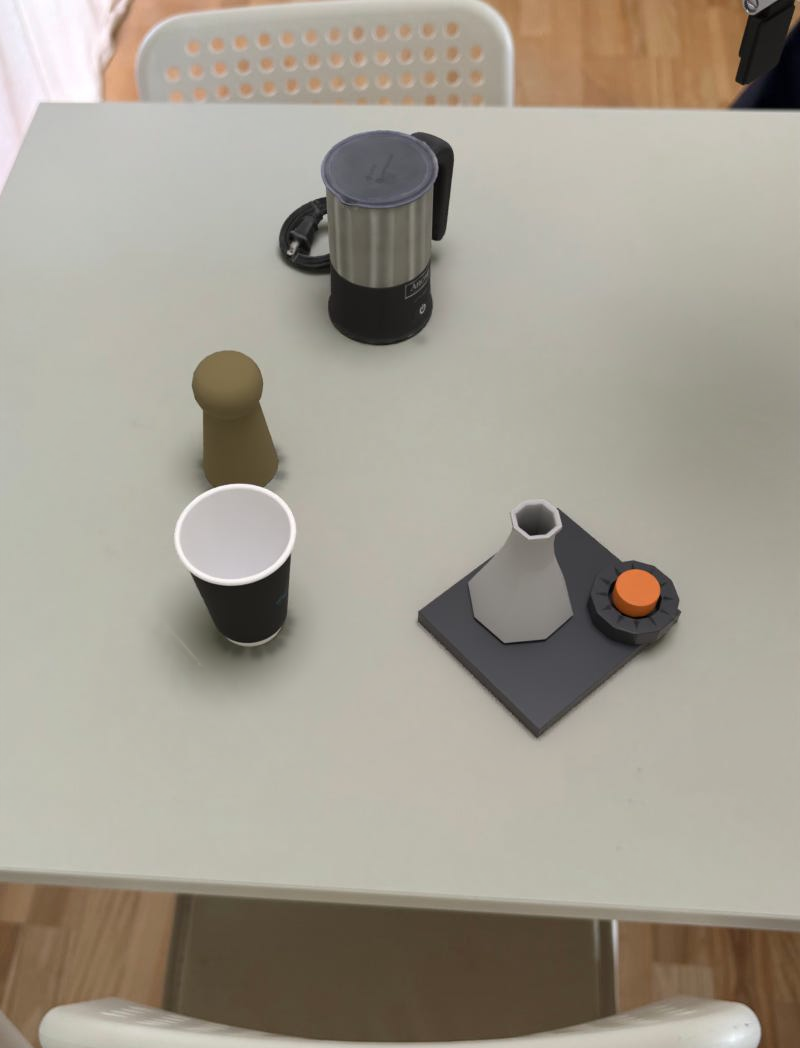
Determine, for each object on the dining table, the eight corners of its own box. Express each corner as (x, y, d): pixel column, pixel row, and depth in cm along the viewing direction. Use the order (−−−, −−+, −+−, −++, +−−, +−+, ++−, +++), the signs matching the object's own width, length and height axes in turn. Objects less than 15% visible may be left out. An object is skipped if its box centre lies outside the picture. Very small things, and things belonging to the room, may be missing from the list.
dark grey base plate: (559, 514, 84) (564, 491, 81) (686, 622, 78) (696, 600, 76) (417, 621, 79) (418, 599, 77) (541, 743, 74) (547, 724, 71)
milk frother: (415, 356, 94) (421, 214, 81) (242, 320, 97) (223, 178, 85) (458, 247, 101) (469, 102, 89) (296, 217, 104) (285, 72, 92)
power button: (632, 573, 78) (636, 561, 76) (665, 601, 76) (670, 589, 75) (602, 597, 77) (606, 585, 75) (635, 625, 75) (639, 613, 74)
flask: (450, 579, 79) (459, 496, 71) (539, 544, 81) (557, 459, 72) (498, 660, 76) (513, 582, 67) (590, 622, 77) (616, 541, 69)
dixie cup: (325, 634, 79) (318, 548, 70) (226, 685, 77) (206, 603, 68) (273, 555, 83) (260, 464, 74) (178, 602, 81) (153, 514, 72)
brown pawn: (235, 506, 86) (217, 413, 77) (188, 462, 88) (165, 366, 79) (294, 464, 88) (284, 368, 79) (246, 422, 90) (231, 325, 81)
